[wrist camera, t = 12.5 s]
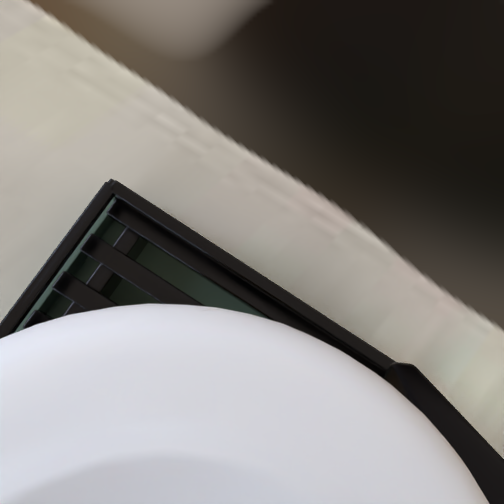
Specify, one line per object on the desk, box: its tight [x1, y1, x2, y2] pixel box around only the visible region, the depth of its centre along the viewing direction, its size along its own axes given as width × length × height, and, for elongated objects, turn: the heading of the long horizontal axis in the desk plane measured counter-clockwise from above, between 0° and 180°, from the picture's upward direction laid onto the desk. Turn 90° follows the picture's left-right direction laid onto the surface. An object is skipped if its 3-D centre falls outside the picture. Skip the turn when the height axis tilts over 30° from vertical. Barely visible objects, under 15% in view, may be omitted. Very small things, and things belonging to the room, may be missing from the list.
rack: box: [0, 179, 395, 378], centre depth 16 cm, size 12×10×4 cm
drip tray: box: [14, 200, 266, 333], centre depth 18 cm, size 13×11×2 cm
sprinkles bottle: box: [0, 304, 489, 504], centre depth 9 cm, size 5×5×13 cm
